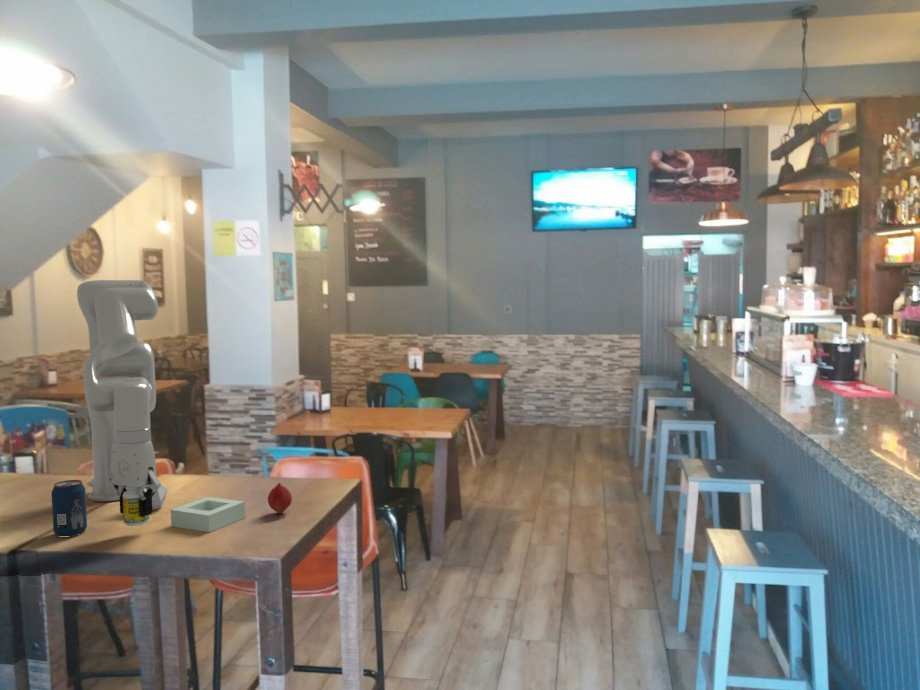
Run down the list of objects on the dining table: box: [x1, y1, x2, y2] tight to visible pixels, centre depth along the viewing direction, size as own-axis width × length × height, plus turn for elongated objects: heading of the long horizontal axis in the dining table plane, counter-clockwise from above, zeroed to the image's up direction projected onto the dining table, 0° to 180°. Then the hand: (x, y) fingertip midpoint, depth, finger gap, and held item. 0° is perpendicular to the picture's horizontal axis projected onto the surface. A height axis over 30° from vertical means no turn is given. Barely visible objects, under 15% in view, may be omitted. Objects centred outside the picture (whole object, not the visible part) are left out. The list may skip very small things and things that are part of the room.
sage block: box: [170, 496, 246, 533], centre depth 177 cm, size 12×12×4 cm
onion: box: [267, 482, 293, 515], centre depth 183 cm, size 6×6×8 cm
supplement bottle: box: [123, 487, 150, 527], centre depth 168 cm, size 5×5×10 cm
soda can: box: [51, 479, 88, 537], centre depth 169 cm, size 7×7×12 cm
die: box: [144, 483, 169, 512], centre depth 188 cm, size 8×9×10 cm
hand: (136, 512), depth 168 cm, fingers closed on supplement bottle, 5 cm apart
